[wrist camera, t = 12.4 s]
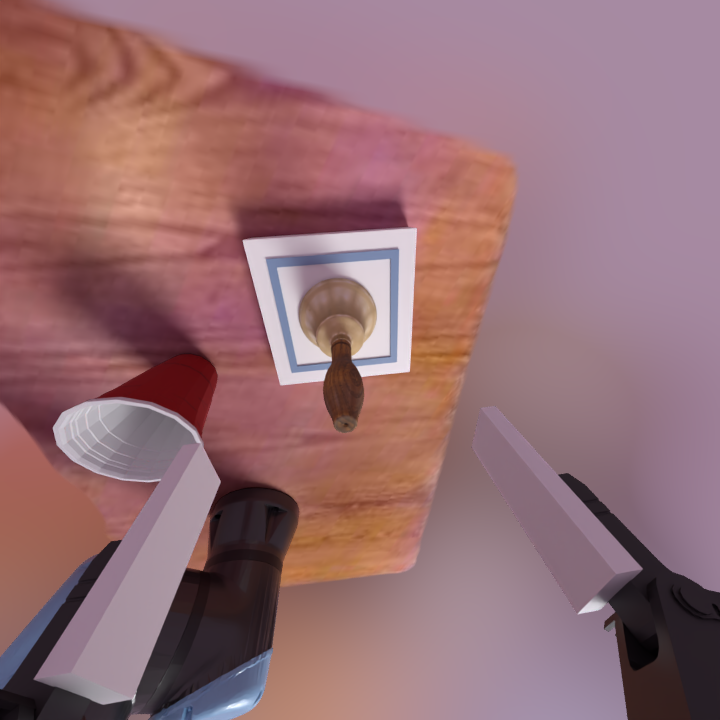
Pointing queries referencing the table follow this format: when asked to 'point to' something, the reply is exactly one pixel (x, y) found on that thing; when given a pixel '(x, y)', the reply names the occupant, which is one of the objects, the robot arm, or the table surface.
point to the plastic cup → (140, 421)
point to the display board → (326, 261)
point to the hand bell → (339, 342)
